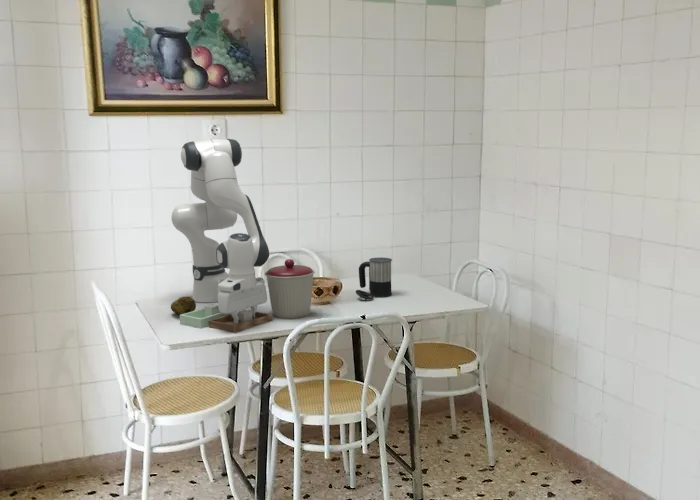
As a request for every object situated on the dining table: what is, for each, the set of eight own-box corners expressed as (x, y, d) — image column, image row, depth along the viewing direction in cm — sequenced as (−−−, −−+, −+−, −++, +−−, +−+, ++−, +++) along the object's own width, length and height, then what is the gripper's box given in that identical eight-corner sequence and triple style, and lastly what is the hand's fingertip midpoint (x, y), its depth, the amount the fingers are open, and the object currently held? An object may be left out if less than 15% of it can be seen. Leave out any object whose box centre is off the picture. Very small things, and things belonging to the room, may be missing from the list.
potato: (192, 311, 278) (191, 290, 277) (198, 319, 266) (196, 297, 265) (170, 313, 276) (169, 292, 274) (174, 321, 264) (173, 299, 262)
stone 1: (205, 319, 262) (204, 306, 261) (213, 317, 265) (212, 304, 264) (212, 321, 259) (211, 307, 259) (220, 319, 262) (219, 305, 262)
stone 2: (244, 323, 256) (244, 309, 255) (252, 325, 253) (251, 310, 253) (236, 325, 253) (236, 311, 252) (244, 327, 250) (244, 313, 250)
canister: (260, 313, 272) (257, 257, 268) (306, 308, 279) (304, 253, 275) (275, 325, 255) (273, 265, 252) (323, 318, 262) (322, 260, 259)
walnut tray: (246, 317, 266) (246, 309, 266) (272, 322, 258) (272, 314, 258) (208, 329, 252) (208, 320, 252) (235, 335, 244) (235, 326, 244)
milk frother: (393, 292, 301) (392, 257, 298) (391, 301, 285) (390, 264, 283) (358, 292, 302) (357, 257, 300) (354, 301, 287) (353, 264, 284)
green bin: (210, 317, 268) (209, 306, 268) (231, 321, 262) (230, 310, 261) (180, 326, 257) (179, 314, 257) (201, 330, 251) (200, 319, 250)
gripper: (257, 275, 260) (259, 313, 263) (214, 285, 244) (216, 326, 247) (270, 277, 257) (272, 315, 259) (227, 288, 241) (229, 328, 243)
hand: (244, 320), depth 253 cm, fingers open, 5 cm apart
